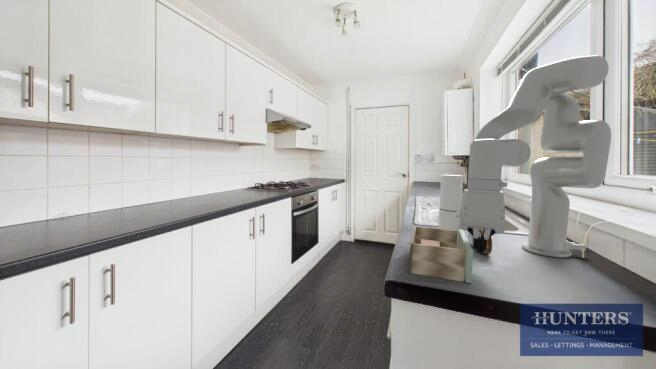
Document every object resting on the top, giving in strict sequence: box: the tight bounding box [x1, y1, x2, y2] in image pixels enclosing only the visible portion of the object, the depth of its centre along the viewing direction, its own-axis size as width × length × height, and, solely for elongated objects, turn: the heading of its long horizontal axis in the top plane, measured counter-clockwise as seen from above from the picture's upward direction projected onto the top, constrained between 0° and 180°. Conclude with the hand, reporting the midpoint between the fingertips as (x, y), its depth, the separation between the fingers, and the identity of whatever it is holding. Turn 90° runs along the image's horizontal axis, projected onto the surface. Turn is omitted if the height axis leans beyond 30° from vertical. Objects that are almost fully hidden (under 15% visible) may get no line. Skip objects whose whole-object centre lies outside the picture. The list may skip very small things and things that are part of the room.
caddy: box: [409, 226, 466, 282], centre depth 74 cm, size 13×20×8 cm, turn 158°
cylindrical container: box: [437, 174, 464, 243], centre depth 92 cm, size 7×7×25 cm
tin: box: [467, 227, 493, 255], centre depth 86 cm, size 15×3×8 cm, turn 168°
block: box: [421, 239, 440, 247], centre depth 74 cm, size 5×5×5 cm
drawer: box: [457, 229, 474, 284], centre depth 73 cm, size 13×21×8 cm, turn 158°
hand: (479, 251), depth 70 cm, fingers closed
